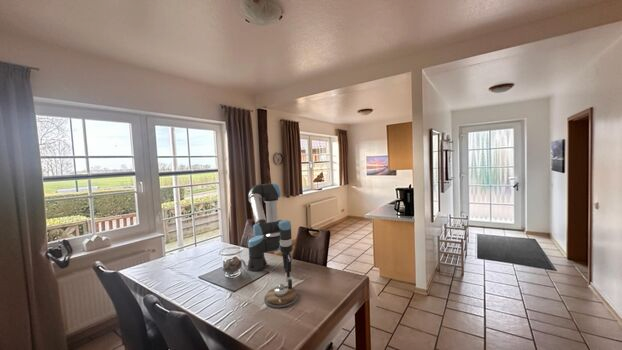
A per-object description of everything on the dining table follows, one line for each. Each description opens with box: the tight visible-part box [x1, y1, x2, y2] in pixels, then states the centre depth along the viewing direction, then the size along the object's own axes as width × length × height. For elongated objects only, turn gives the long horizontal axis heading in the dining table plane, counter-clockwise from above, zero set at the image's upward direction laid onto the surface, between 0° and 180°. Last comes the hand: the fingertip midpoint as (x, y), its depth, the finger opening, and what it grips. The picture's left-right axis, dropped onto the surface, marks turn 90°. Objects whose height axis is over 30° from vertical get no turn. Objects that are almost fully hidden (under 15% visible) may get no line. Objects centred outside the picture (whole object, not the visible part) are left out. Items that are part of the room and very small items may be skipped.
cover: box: [274, 283, 288, 297], centre depth 148 cm, size 8×8×5 cm
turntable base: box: [263, 291, 299, 309], centre depth 148 cm, size 20×20×1 cm
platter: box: [265, 278, 297, 305], centre depth 147 cm, size 18×18×6 cm
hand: (288, 281), depth 159 cm, fingers closed
